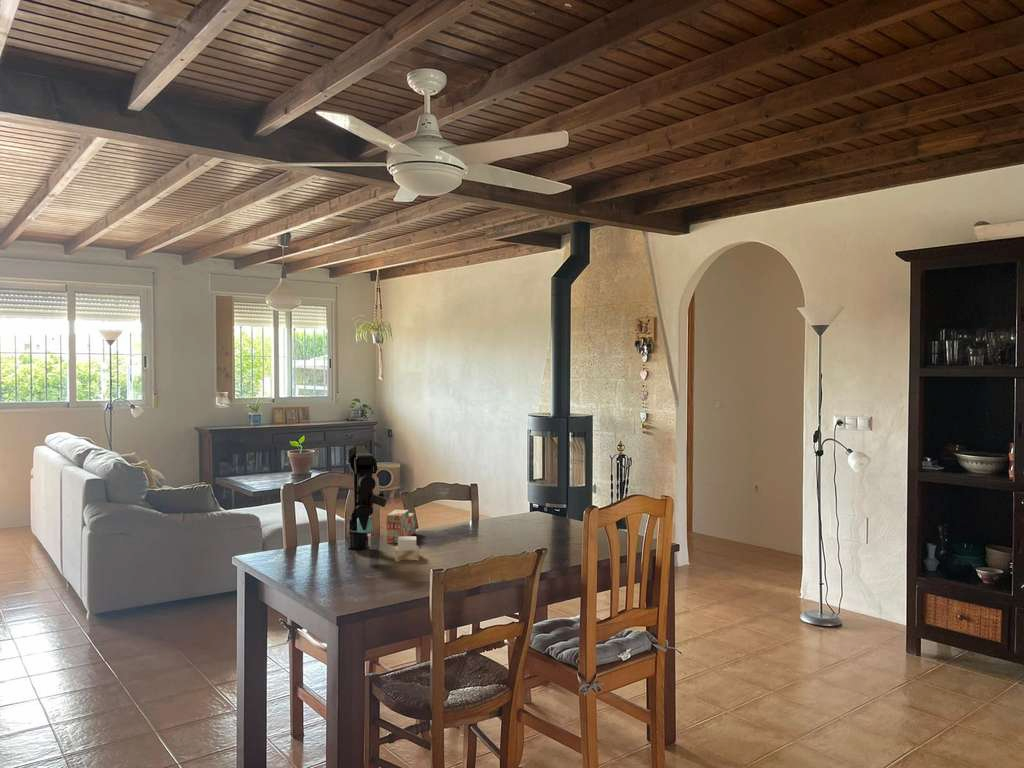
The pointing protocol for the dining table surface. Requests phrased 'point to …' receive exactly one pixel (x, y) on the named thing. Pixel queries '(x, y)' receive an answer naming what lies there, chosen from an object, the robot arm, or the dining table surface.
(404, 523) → the beige printed box
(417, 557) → the oak base slab
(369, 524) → the seafoam tapered dome
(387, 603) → the dining table surface
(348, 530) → the robot arm
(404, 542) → the white upper slab
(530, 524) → the dining table surface
